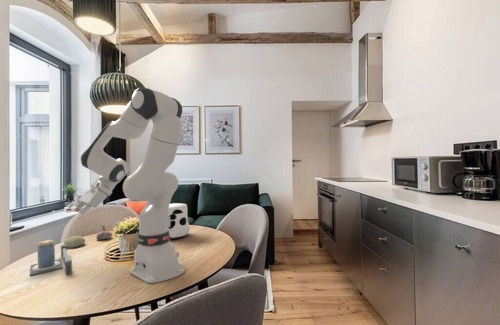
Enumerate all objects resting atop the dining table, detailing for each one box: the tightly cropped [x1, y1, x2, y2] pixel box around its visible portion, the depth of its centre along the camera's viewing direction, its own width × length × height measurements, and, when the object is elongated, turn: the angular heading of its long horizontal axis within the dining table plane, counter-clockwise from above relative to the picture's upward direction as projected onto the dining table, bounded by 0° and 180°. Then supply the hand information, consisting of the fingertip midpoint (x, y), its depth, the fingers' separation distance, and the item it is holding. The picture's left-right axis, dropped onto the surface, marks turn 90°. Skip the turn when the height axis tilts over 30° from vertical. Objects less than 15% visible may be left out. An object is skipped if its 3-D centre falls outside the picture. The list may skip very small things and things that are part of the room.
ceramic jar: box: [36, 239, 56, 268], centre depth 103 cm, size 6×6×10 cm
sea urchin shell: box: [63, 235, 86, 249], centre depth 131 cm, size 9×8×8 cm
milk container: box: [168, 202, 190, 240], centre depth 143 cm, size 17×17×18 cm
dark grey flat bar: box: [60, 244, 73, 276], centre depth 107 cm, size 26×2×5 cm, turn 40°
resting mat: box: [29, 258, 63, 277], centre depth 103 cm, size 12×10×1 cm
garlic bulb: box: [96, 224, 113, 241], centre depth 141 cm, size 8×7×8 cm
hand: (78, 212), depth 111 cm, fingers open, 8 cm apart
